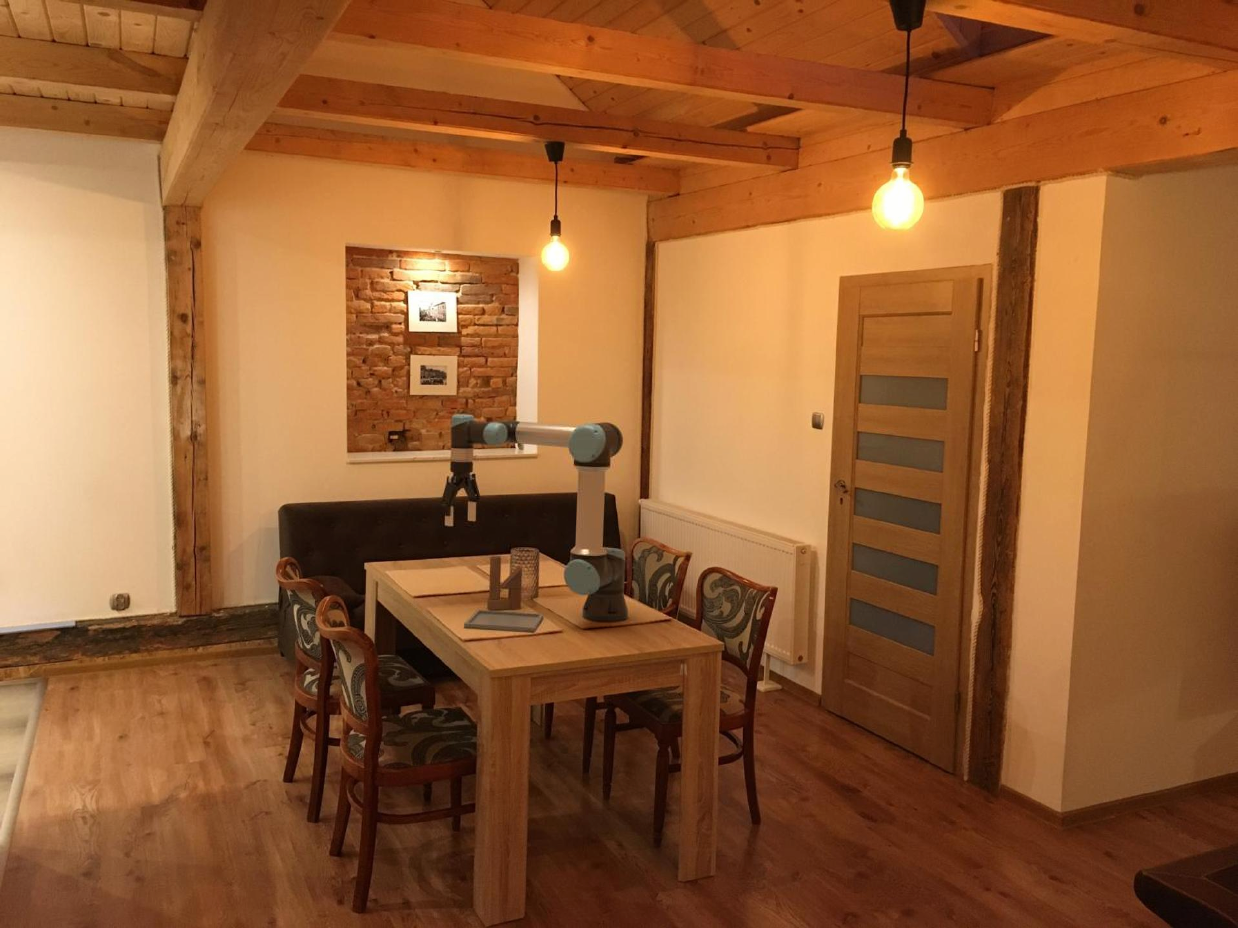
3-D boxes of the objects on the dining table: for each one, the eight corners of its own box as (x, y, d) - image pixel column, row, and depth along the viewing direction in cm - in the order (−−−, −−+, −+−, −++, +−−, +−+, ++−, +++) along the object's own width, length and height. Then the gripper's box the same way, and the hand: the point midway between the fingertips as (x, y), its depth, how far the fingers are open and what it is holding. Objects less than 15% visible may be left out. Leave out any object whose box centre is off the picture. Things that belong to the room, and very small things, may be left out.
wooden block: (521, 609, 357) (522, 556, 355) (490, 611, 353) (491, 557, 351) (517, 606, 360) (519, 554, 358) (487, 608, 356) (488, 555, 354)
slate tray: (543, 618, 346) (543, 613, 346) (533, 632, 328) (533, 627, 328) (477, 614, 348) (477, 609, 348) (464, 627, 330) (464, 623, 330)
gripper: (472, 457, 368) (471, 517, 370) (430, 462, 346) (429, 526, 348) (491, 458, 365) (489, 519, 367) (449, 464, 343) (448, 528, 345)
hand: (460, 523), depth 357 cm, fingers open, 13 cm apart
